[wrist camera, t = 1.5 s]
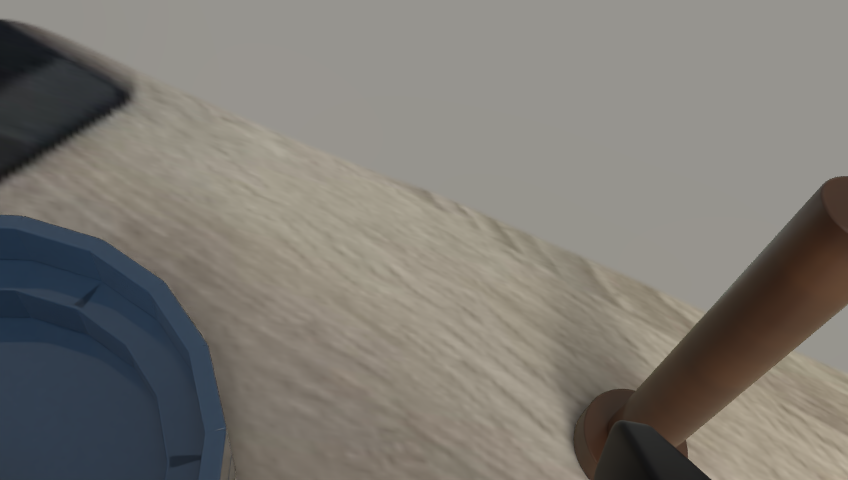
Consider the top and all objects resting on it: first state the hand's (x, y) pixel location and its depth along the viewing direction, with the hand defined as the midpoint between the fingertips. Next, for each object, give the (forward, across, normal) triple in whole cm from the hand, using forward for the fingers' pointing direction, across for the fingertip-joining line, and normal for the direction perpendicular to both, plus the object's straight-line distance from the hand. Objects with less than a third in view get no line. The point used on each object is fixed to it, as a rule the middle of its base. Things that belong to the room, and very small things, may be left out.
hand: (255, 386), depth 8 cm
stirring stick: (+13, -12, +11) cm, 21 cm away
